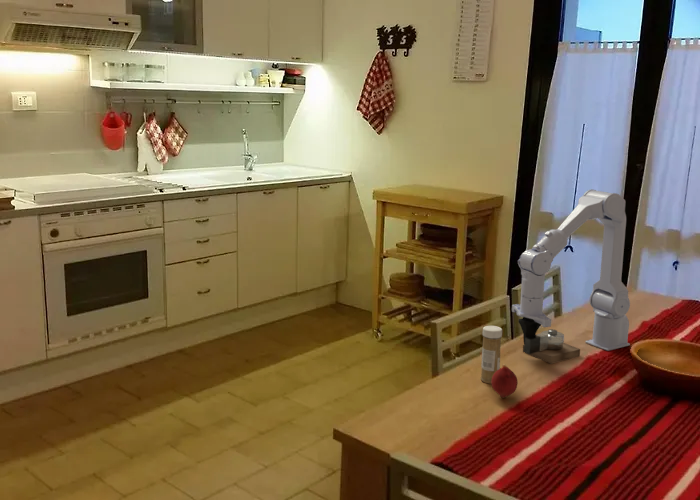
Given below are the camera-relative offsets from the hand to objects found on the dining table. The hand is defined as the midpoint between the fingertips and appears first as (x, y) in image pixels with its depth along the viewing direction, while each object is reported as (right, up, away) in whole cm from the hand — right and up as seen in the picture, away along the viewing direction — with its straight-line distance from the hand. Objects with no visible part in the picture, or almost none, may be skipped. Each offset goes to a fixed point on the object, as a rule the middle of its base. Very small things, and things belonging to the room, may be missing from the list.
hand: (528, 345), depth 184 cm
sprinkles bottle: (-13, -7, -15) cm, 21 cm away
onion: (-12, -9, -25) cm, 29 cm away
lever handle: (+4, -1, 0) cm, 4 cm away
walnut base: (+7, -3, +3) cm, 8 cm away
